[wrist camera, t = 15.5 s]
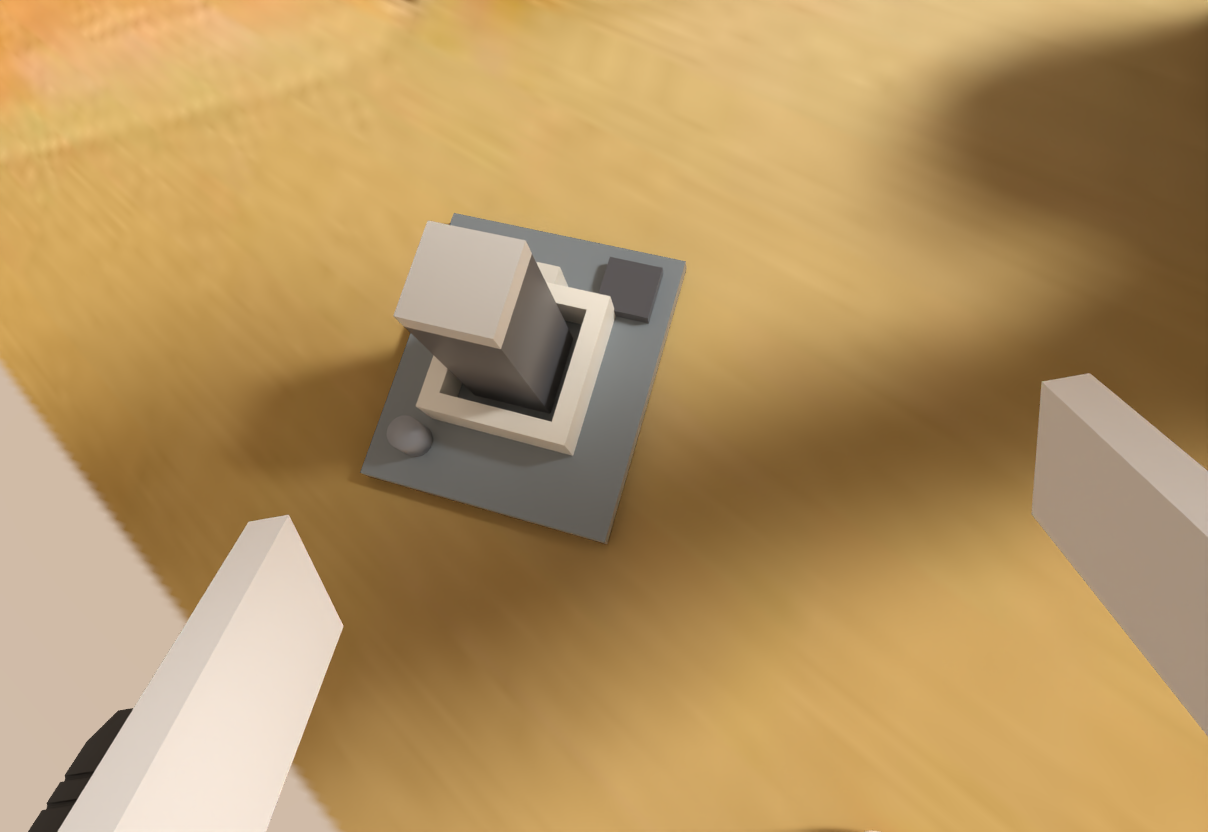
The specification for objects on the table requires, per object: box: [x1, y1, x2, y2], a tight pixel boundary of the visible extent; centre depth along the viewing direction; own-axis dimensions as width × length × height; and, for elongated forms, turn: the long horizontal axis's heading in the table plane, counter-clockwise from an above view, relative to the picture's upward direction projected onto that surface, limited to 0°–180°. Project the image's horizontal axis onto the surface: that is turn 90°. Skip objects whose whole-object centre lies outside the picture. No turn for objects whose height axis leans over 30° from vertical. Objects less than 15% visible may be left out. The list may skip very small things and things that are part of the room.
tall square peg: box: [394, 221, 573, 414], centre depth 38 cm, size 4×4×12 cm
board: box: [360, 213, 686, 544], centre depth 43 cm, size 16×14×4 cm
